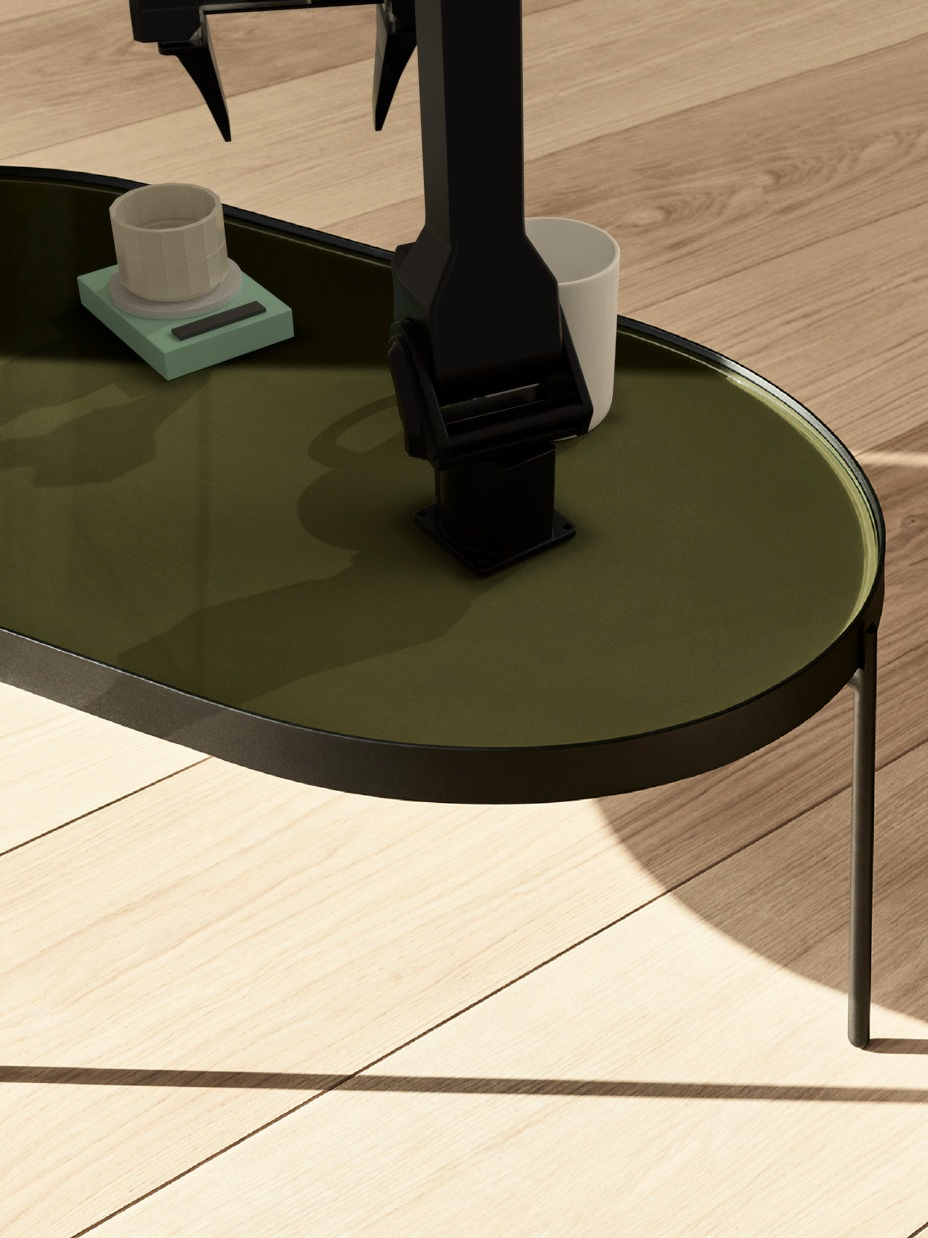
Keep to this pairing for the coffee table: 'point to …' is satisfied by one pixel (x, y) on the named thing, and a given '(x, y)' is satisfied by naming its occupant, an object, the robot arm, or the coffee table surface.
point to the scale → (189, 321)
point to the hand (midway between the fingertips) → (303, 133)
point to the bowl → (170, 241)
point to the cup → (584, 297)
